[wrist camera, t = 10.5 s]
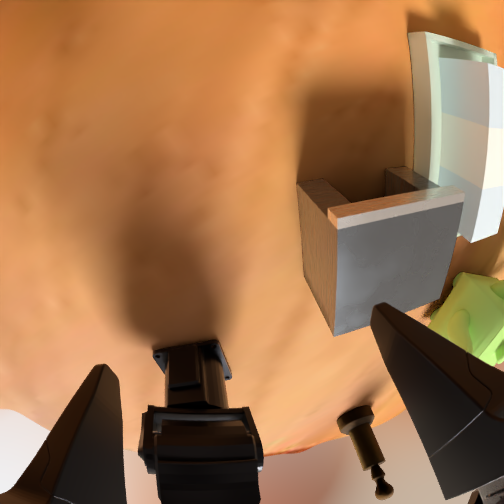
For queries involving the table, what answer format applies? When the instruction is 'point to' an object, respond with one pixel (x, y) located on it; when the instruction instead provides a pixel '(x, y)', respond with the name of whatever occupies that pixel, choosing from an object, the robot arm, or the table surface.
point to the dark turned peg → (366, 446)
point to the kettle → (474, 316)
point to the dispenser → (377, 246)
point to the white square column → (473, 142)
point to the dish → (433, 93)
